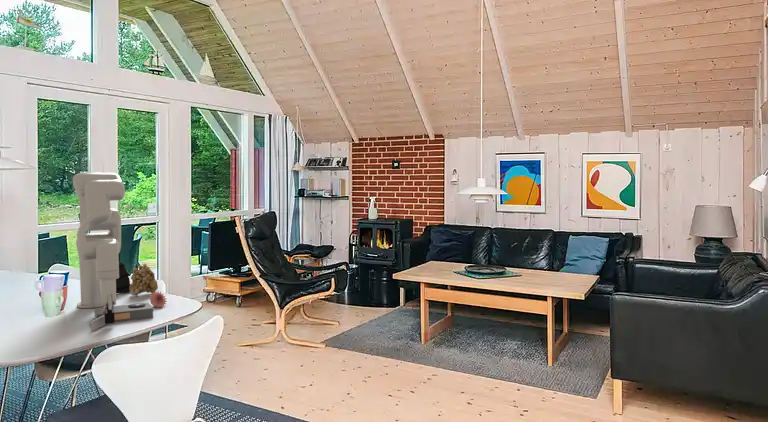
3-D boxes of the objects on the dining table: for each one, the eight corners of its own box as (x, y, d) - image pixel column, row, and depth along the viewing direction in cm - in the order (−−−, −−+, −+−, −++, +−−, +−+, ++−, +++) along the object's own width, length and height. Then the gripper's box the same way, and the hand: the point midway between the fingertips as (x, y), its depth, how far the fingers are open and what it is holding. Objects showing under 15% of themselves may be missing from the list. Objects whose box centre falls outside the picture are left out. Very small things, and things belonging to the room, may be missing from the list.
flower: (146, 292, 246) (152, 286, 243) (163, 297, 251) (170, 291, 248) (144, 308, 241) (150, 302, 239) (162, 312, 246) (168, 307, 243)
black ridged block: (138, 288, 277) (122, 261, 272) (111, 302, 270) (95, 276, 266) (136, 286, 280) (121, 261, 275) (110, 301, 273) (94, 275, 269)
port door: (108, 323, 216) (108, 313, 216) (93, 331, 205) (93, 320, 205) (104, 323, 216) (103, 313, 216) (89, 331, 205) (89, 320, 205)
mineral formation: (126, 295, 267) (125, 264, 266) (154, 291, 277) (153, 261, 276) (134, 298, 262) (132, 266, 261) (162, 293, 271) (161, 262, 270)
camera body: (94, 317, 225) (94, 306, 225) (148, 311, 236) (148, 300, 235) (97, 324, 215) (96, 313, 215) (153, 317, 225) (152, 306, 225)
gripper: (95, 272, 215) (97, 320, 216) (98, 278, 202) (100, 329, 203) (117, 270, 219) (118, 317, 220) (121, 276, 206) (122, 326, 207)
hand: (109, 322), depth 212 cm, fingers closed
